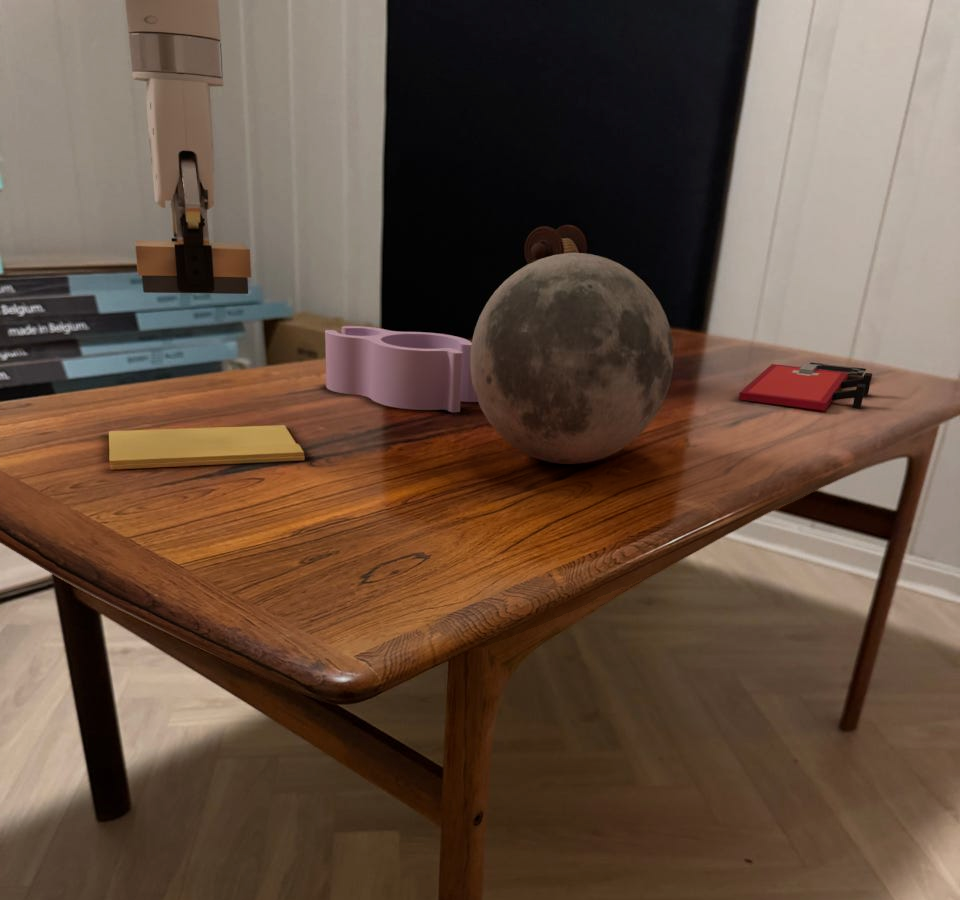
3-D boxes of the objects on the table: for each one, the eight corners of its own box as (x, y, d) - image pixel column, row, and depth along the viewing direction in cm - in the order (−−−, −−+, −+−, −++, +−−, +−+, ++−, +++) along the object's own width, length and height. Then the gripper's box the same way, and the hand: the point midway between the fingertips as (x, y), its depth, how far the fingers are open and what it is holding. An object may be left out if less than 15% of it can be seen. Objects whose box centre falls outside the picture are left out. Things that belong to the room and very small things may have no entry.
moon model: (447, 434, 105) (455, 239, 96) (617, 432, 110) (639, 246, 101) (491, 493, 88) (506, 262, 79) (690, 488, 93) (725, 269, 84)
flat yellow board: (110, 469, 88) (109, 461, 88) (109, 435, 98) (108, 427, 98) (304, 460, 94) (304, 452, 94) (284, 428, 104) (284, 421, 104)
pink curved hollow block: (307, 391, 120) (305, 334, 116) (360, 375, 130) (360, 322, 127) (447, 416, 112) (450, 356, 109) (493, 397, 122) (496, 341, 119)
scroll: (568, 400, 123) (584, 232, 114) (471, 381, 130) (479, 222, 121) (615, 382, 135) (633, 228, 126) (524, 366, 141) (535, 219, 132)
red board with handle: (878, 376, 147) (779, 365, 153) (882, 357, 146) (782, 347, 152) (853, 418, 123) (738, 402, 129) (858, 396, 122) (741, 381, 128)
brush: (140, 293, 87) (135, 245, 85) (139, 285, 91) (134, 240, 89) (252, 294, 90) (249, 248, 88) (246, 287, 94) (243, 243, 92)
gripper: (130, 65, 88) (150, 275, 96) (132, 53, 74) (155, 300, 82) (214, 72, 90) (226, 276, 98) (231, 61, 76) (244, 301, 84)
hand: (194, 285), depth 90 cm, fingers closed on brush, 5 cm apart
